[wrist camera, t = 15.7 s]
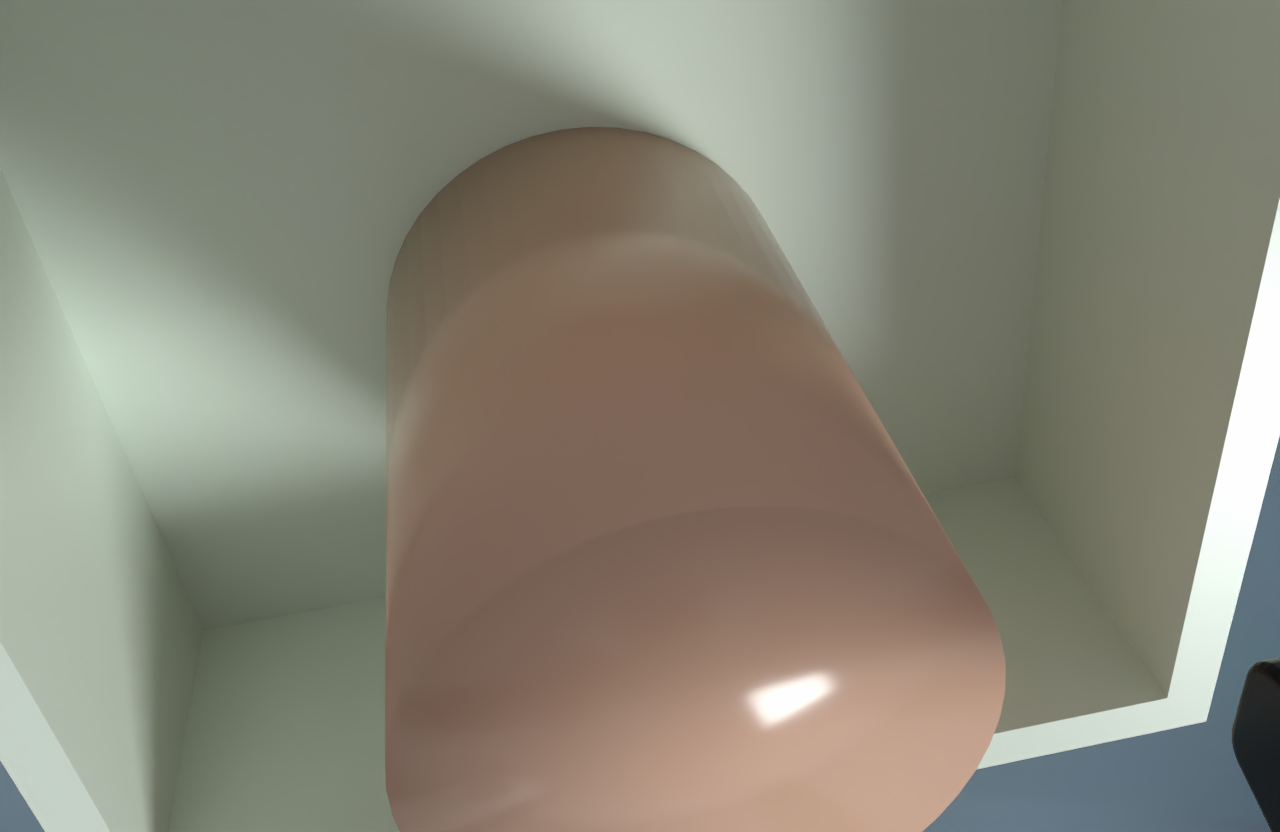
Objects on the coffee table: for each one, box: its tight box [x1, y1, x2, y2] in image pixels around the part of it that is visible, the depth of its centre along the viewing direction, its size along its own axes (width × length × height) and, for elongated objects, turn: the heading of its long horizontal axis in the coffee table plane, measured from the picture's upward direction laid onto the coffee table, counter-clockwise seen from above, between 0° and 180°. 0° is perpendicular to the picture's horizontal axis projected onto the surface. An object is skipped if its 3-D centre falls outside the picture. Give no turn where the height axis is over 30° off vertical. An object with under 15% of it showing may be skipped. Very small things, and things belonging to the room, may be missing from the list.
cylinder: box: [385, 127, 1006, 832], centre depth 13 cm, size 5×5×7 cm
